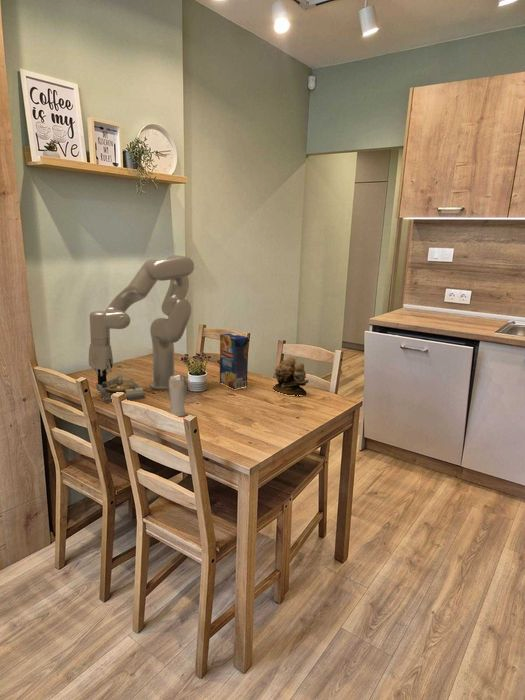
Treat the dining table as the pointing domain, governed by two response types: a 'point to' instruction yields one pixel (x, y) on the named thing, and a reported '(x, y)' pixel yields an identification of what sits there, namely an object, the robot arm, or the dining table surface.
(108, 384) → the cam foot
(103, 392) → the level stand
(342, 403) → the dining table surface
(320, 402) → the dining table surface
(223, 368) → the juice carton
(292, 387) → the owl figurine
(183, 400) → the beer glass
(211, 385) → the dining table surface
